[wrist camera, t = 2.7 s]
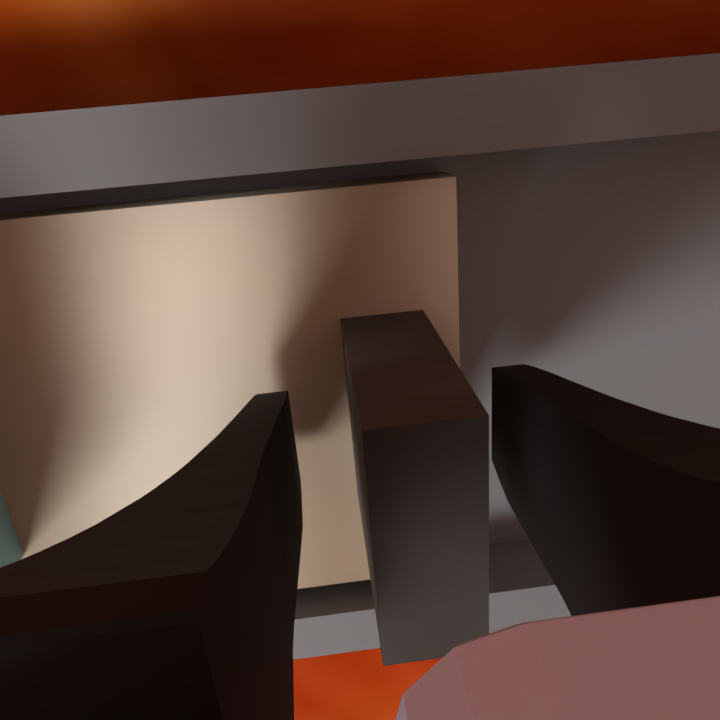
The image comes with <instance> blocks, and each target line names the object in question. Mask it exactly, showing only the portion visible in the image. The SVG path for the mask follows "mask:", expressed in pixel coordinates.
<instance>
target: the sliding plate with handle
mask: <svg viewBox="0 0 720 720" xmlns="http://www.w3.org/2000/svg"><path fill="white" fill-rule="evenodd" d="M280 391H288V394H289V401H290V408H291V415H292V422H293V429H294V436H295V443H296V450H297V457H298V464H299V471H300V478H301V491H302V515H303V531H302V543H301V555H300V566H299V577H298V588H297V589H302V588H309V587H317V586H324V585H332V584H340V583H347V582H355V581H363V580H371V587H372V593H373V600H374V607H375V614H376V620H377V627H378V634H379V640H380V647H381V654H382V660H383V666H386V665H393V664H401V663H408V662H415V661H422V660H429V659H437V658H443V657H444V656H445V655H446V654H447V653H449V652H450V651H451V650H452V649H453V648H454V647H455V646H456V645H457V644H460V643H463V642H466V641H469V640H472V639H475V638H478V637H481V636H484V635H487V634H489V415H488V413H487V411H486V410H485V408H484V407H483V405H482V403H481V402H480V400H479V399H478V397H477V395H476V394H475V392H474V391H473V389H472V387H471V386H470V384H469V383H468V381H467V379H466V378H465V376H464V375H463V373H462V371H461V370H460V344H459V293H458V243H457V192H456V176H453V175H451V174H448V173H446V172H435V173H424V174H414V175H403V176H393V177H382V178H372V179H361V180H351V181H340V182H330V183H320V184H309V185H299V186H288V187H278V188H267V189H257V190H246V191H236V192H225V193H215V194H204V195H194V196H183V197H173V198H162V199H152V200H141V201H131V202H121V203H110V204H100V205H89V206H79V207H68V208H58V209H47V210H37V211H26V212H16V213H5V214H0V491H1V494H2V496H3V499H4V502H5V504H6V507H7V510H8V512H9V515H10V518H11V521H12V523H13V526H14V529H15V531H16V534H17V537H18V539H19V542H20V545H21V547H22V550H23V553H24V555H23V557H22V559H24V558H26V557H28V556H31V555H33V554H35V553H38V552H40V551H42V550H44V549H46V548H49V547H51V546H53V545H55V544H57V543H59V542H62V541H64V540H66V539H68V538H70V537H72V536H74V535H76V534H78V533H80V532H82V531H84V530H86V529H88V528H90V527H92V526H94V525H96V524H97V523H99V522H101V521H103V520H104V519H106V518H108V517H109V516H111V515H113V514H114V513H116V512H118V511H119V510H121V509H123V508H124V507H126V506H128V505H130V504H131V503H133V502H135V501H136V500H138V499H140V498H141V497H143V496H144V495H146V494H147V493H149V492H150V491H152V490H153V489H154V488H156V487H157V486H159V485H160V484H161V483H163V482H164V481H165V480H167V479H168V478H170V477H171V476H172V475H173V474H175V473H176V472H177V471H179V470H180V469H181V468H182V467H183V466H185V465H186V464H187V463H188V462H189V461H190V460H191V459H193V458H194V457H195V456H196V455H197V454H198V453H199V452H200V451H201V450H202V449H203V448H205V447H206V446H207V445H208V444H209V443H210V442H211V441H212V440H213V439H214V438H215V437H216V436H217V435H218V434H219V433H220V432H221V431H222V430H223V429H224V428H225V427H226V426H227V425H228V424H229V423H230V422H231V421H232V420H233V419H234V417H235V416H236V415H237V414H238V413H239V412H240V411H241V410H242V409H243V407H244V406H245V405H246V404H247V403H248V402H249V401H250V400H251V399H252V398H253V397H254V396H255V395H256V394H263V393H271V392H280Z"/></svg>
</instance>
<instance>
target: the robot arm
mask: <svg viewBox="0 0 720 720" xmlns="http://www.w3.org/2000/svg"><path fill="white" fill-rule="evenodd" d="M492 462H493V465H494V467H495V470H496V473H497V475H498V478H499V481H500V483H501V486H502V488H503V491H504V493H505V496H506V498H507V501H508V502H509V504H510V506H511V508H512V510H513V512H514V513H515V515H516V517H517V519H518V521H519V522H520V524H521V526H522V528H523V529H524V531H525V533H526V535H527V536H528V538H529V540H530V542H531V543H532V545H533V547H534V549H535V550H536V552H537V554H538V556H539V557H540V559H541V561H542V563H543V564H544V566H545V568H546V570H547V571H548V573H549V575H550V577H551V578H552V580H553V582H554V584H555V585H556V587H557V589H558V591H559V592H560V594H561V596H562V598H563V600H564V602H565V604H566V606H567V608H568V610H569V612H570V614H571V616H568V617H561V618H553V619H546V620H539V621H531V622H524V623H519V624H516V625H513V626H510V627H507V628H504V629H501V630H499V631H496V632H493V633H490V634H487V635H484V636H481V637H478V638H475V639H472V640H469V641H466V642H463V643H460V644H457V645H456V646H455V647H454V648H453V649H452V650H451V651H450V652H449V653H447V654H446V655H445V656H444V657H443V658H442V659H441V660H440V661H439V662H437V663H436V664H435V665H434V666H433V667H432V668H431V669H430V670H429V671H428V672H426V673H425V674H424V675H423V676H422V677H421V678H420V679H419V680H418V681H416V682H415V683H414V684H413V685H412V686H411V687H410V688H409V689H408V690H407V691H405V692H404V693H403V695H402V699H401V702H400V706H399V710H398V713H397V717H396V720H720V428H715V427H711V426H707V425H703V424H699V423H695V422H691V421H687V420H683V419H679V418H675V417H672V416H668V415H665V414H662V413H658V412H655V411H652V410H649V409H646V408H643V407H640V406H637V405H634V404H631V403H628V402H625V401H622V400H620V399H617V398H614V397H611V396H609V395H606V394H603V393H601V392H598V391H596V390H593V389H591V388H588V387H585V386H583V385H580V384H578V383H575V382H573V381H571V380H568V379H566V378H563V377H561V376H558V375H556V374H553V373H550V372H548V371H545V370H542V369H540V368H537V367H533V366H530V365H525V364H519V365H510V366H501V367H492ZM302 531H303V515H302V491H301V478H300V471H299V464H298V457H297V450H296V443H295V436H294V429H293V422H292V415H291V408H290V401H289V394H288V391H280V392H271V393H263V394H256V395H255V396H254V397H253V398H252V399H251V400H250V401H249V402H248V403H247V404H246V405H245V406H244V407H243V409H242V410H241V411H240V412H239V413H238V414H237V415H236V416H235V417H234V419H233V420H232V421H231V422H230V423H229V424H228V425H227V426H226V427H225V428H224V429H223V430H222V431H221V432H220V433H219V434H218V435H217V436H216V437H215V438H214V439H213V440H212V441H211V442H210V443H209V444H208V445H207V446H206V447H205V448H203V449H202V450H201V451H200V452H199V453H198V454H197V455H196V456H195V457H194V458H193V459H191V460H190V461H189V462H188V463H187V464H186V465H185V466H183V467H182V468H181V469H180V470H179V471H177V472H176V473H175V474H173V475H172V476H171V477H170V478H168V479H167V480H165V481H164V482H163V483H161V484H160V485H159V486H157V487H156V488H154V489H153V490H152V491H150V492H149V493H147V494H146V495H144V496H143V497H141V498H140V499H138V500H136V501H135V502H133V503H131V504H130V505H128V506H126V507H124V508H123V509H121V510H119V511H118V512H116V513H114V514H113V515H111V516H109V517H108V518H106V519H104V520H103V521H101V522H99V523H97V524H96V525H94V526H92V527H90V528H88V529H86V530H84V531H82V532H80V533H78V534H76V535H74V536H72V537H70V538H68V539H66V540H64V541H62V542H59V543H57V544H55V545H53V546H51V547H49V548H46V549H44V550H42V551H40V552H38V553H35V554H33V555H31V556H28V557H26V558H24V559H21V560H19V561H16V562H14V563H11V564H8V565H6V566H3V567H0V720H294V693H293V639H294V622H295V611H296V599H297V588H298V577H299V566H300V555H301V543H302Z"/></svg>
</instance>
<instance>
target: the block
mask: <svg viewBox="0 0 720 720" xmlns="http://www.w3.org/2000/svg"><path fill="white" fill-rule="evenodd" d="M23 555H24V553H23V550H22V547H21V545H20V542H19V539H18V537H17V534H16V531H15V529H14V526H13V523H12V521H11V518H10V515H9V512H8V510H7V507H6V504H5V502H4V499H3V496H2V494H1V491H0V567H3V566H6V565H8V564H11V563H14V562H16V561H19V560H21V559H22V557H23Z"/></svg>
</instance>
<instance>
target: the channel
mask: <svg viewBox="0 0 720 720" xmlns="http://www.w3.org/2000/svg"><path fill="white" fill-rule="evenodd" d="M435 172H446V173H448V174H451V175H453V176H456V192H457V243H458V293H459V344H460V370H461V371H462V373H463V375H464V376H465V378H466V379H467V381H468V383H469V384H470V386H471V387H472V389H473V391H474V392H475V394H476V395H477V397H478V399H479V400H480V402H481V403H482V405H483V407H484V408H485V410H486V411H487V413H488V415H489V633H491V632H496V631H499V630H501V629H504V628H507V627H510V626H513V625H516V624H519V623H524V622H531V621H539V620H546V619H553V618H561V617H568V616H571V614H570V612H569V610H568V608H567V606H566V604H565V602H564V600H563V598H562V596H561V594H560V592H559V591H558V589H557V587H556V585H555V584H554V582H553V580H552V578H551V577H550V575H549V573H548V571H547V570H546V568H545V566H544V564H543V563H542V561H541V559H540V557H539V556H538V554H537V552H536V550H535V549H534V547H533V545H532V543H531V542H530V540H529V538H528V536H527V535H526V533H525V531H524V529H523V528H522V526H521V524H520V522H519V521H518V519H517V517H516V515H515V513H514V512H513V510H512V508H511V506H510V504H509V502H508V501H507V498H506V496H505V493H504V491H503V488H502V486H501V483H500V481H499V478H498V475H497V473H496V470H495V467H494V465H493V462H492V367H501V366H510V365H519V364H525V365H530V366H533V367H537V368H540V369H542V370H545V371H548V372H550V373H553V374H556V375H558V376H561V377H563V378H566V379H568V380H571V381H573V382H575V383H578V384H580V385H583V386H585V387H588V388H591V389H593V390H596V391H598V392H601V393H603V394H606V395H609V396H611V397H614V398H617V399H620V400H622V401H625V402H628V403H631V404H634V405H637V406H640V407H643V408H646V409H649V410H652V411H655V412H658V413H662V414H665V415H668V416H672V417H675V418H679V419H683V420H687V421H691V422H695V423H699V424H703V425H707V426H711V427H715V428H720V53H714V54H703V55H691V56H680V57H668V58H657V59H645V60H634V61H622V62H611V63H599V64H588V65H576V66H565V67H553V68H542V69H530V70H519V71H507V72H496V73H484V74H473V75H461V76H450V77H438V78H427V79H415V80H404V81H392V82H381V83H369V84H358V85H346V86H335V87H323V88H312V89H301V90H289V91H278V92H266V93H255V94H243V95H232V96H220V97H209V98H197V99H186V100H174V101H163V102H151V103H140V104H128V105H117V106H105V107H94V108H82V109H71V110H59V111H48V112H36V113H25V114H13V115H2V116H0V214H5V213H16V212H26V211H37V210H47V209H58V208H68V207H79V206H89V205H100V204H110V203H121V202H131V201H141V200H152V199H162V198H173V197H183V196H194V195H204V194H215V193H225V192H236V191H246V190H257V189H267V188H278V187H288V186H299V185H309V184H320V183H330V182H340V181H351V180H361V179H372V178H382V177H393V176H403V175H414V174H424V173H435ZM374 648H381V647H380V640H379V634H378V627H377V620H376V614H375V607H374V600H373V593H372V587H371V580H363V581H355V582H347V583H340V584H332V585H324V586H317V587H309V588H302V589H297V599H296V611H295V622H294V639H293V660H294V659H301V658H308V657H315V656H323V655H330V654H337V653H345V652H352V651H359V650H367V649H374Z"/></svg>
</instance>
